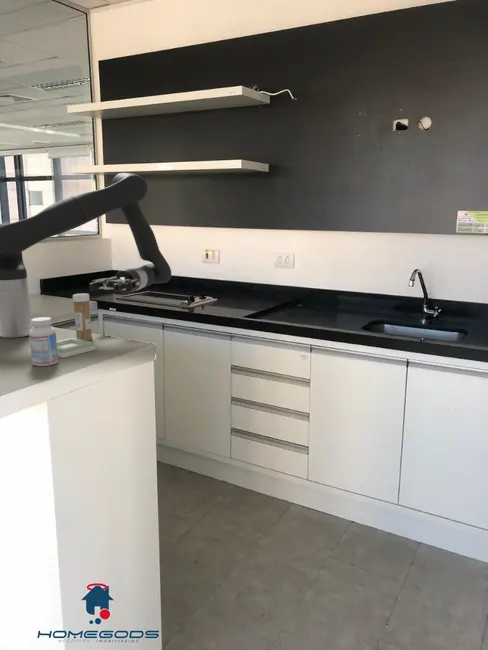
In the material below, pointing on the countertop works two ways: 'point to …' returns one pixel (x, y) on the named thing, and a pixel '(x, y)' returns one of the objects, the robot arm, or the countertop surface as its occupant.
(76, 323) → the sprinkles bottle
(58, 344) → the socket plate
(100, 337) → the countertop surface
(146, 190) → the robot arm
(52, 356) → the pill bottle
